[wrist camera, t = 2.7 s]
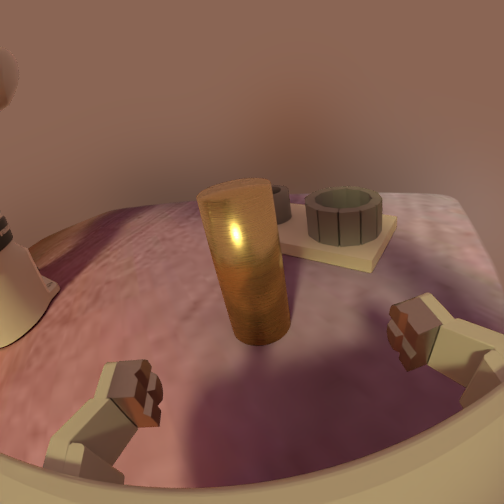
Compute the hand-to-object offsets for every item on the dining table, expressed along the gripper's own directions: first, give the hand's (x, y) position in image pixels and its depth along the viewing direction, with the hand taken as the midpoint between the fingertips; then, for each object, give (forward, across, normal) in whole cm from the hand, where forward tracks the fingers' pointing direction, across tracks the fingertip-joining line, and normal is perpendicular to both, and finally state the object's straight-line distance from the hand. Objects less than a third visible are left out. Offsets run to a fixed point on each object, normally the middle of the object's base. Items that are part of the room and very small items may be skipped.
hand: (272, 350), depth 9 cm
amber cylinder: (+12, 0, +10) cm, 16 cm away
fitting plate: (+28, -8, +10) cm, 31 cm away
